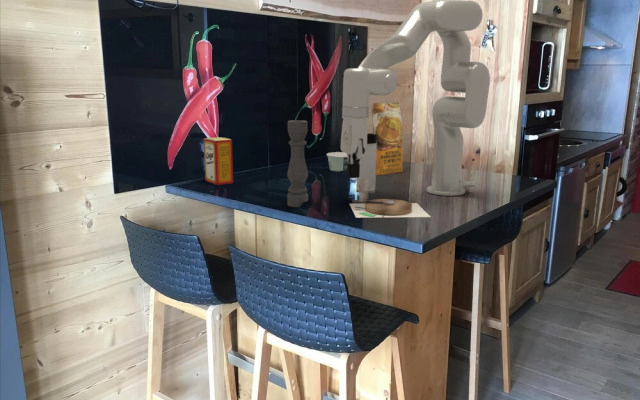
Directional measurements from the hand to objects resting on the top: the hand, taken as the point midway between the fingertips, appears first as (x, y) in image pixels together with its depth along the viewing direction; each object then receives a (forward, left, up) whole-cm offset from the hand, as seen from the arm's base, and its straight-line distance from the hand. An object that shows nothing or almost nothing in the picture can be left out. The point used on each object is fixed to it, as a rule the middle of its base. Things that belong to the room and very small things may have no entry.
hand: (353, 177), depth 156 cm
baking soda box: (+44, -42, -10) cm, 62 cm away
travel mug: (-7, -22, -10) cm, 25 cm away
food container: (-3, -68, -10) cm, 69 cm away
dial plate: (-9, +8, -9) cm, 15 cm away
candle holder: (+16, -5, -10) cm, 19 cm away
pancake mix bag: (-21, -60, -10) cm, 64 cm away
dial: (-7, +8, -8) cm, 13 cm away
